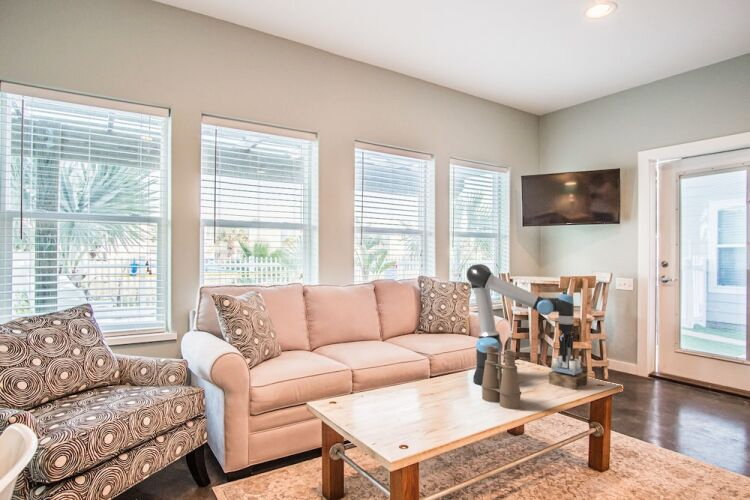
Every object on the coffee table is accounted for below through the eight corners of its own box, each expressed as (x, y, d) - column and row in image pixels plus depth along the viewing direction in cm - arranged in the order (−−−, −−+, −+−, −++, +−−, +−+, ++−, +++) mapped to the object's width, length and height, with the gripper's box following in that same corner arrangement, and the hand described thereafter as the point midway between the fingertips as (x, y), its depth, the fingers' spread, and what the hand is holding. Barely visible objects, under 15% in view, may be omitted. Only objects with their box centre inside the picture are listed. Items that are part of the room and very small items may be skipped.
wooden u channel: (549, 383, 226) (548, 366, 226) (561, 378, 236) (561, 361, 236) (575, 389, 216) (575, 371, 216) (587, 384, 226) (587, 366, 226)
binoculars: (476, 398, 203) (476, 346, 203) (490, 394, 208) (490, 344, 209) (511, 411, 186) (511, 354, 186) (526, 406, 191) (525, 351, 192)
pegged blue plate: (551, 370, 226) (551, 347, 226) (559, 367, 232) (559, 344, 233) (573, 375, 217) (573, 350, 217) (582, 371, 223) (581, 348, 224)
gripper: (566, 325, 217) (566, 371, 217) (579, 322, 228) (580, 365, 227) (552, 323, 223) (552, 368, 222) (565, 320, 233) (566, 363, 233)
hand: (566, 366), depth 225 cm, fingers closed on pegged blue plate, 3 cm apart
